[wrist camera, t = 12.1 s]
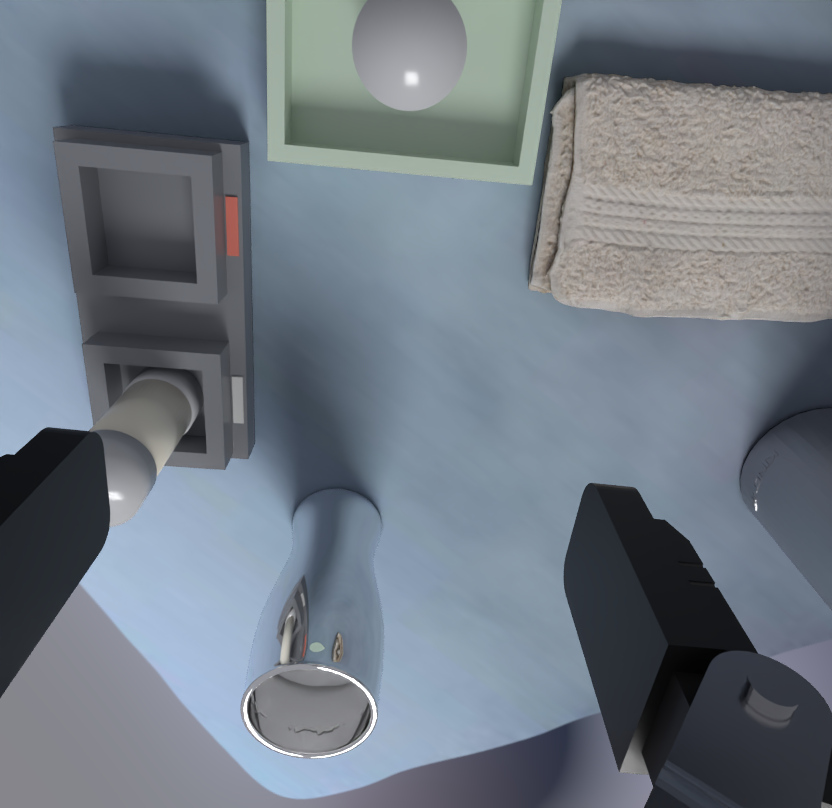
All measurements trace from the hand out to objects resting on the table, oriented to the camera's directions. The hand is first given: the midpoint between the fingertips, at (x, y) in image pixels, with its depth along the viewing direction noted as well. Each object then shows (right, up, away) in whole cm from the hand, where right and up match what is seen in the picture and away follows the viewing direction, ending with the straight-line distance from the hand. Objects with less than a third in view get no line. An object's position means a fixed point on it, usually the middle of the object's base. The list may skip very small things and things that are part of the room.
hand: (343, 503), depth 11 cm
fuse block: (-13, +8, +27) cm, 30 cm away
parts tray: (+1, +19, +21) cm, 28 cm away
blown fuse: (+1, +18, +21) cm, 28 cm away
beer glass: (-4, -7, +34) cm, 35 cm away
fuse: (-13, +2, +27) cm, 30 cm away
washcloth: (+17, +13, +25) cm, 33 cm away
